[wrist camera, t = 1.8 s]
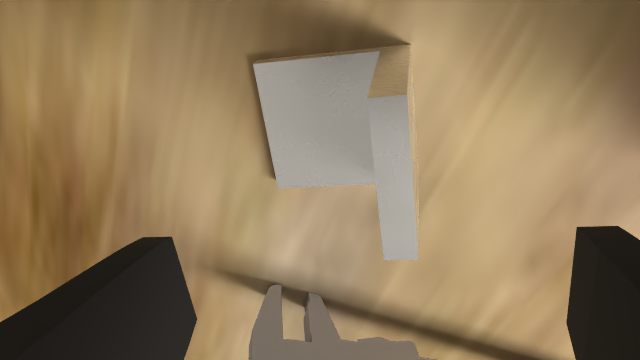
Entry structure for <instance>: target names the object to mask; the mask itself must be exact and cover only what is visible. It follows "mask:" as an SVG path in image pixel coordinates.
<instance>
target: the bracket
mask: <svg viewBox="0 0 640 360" xmlns="http://www.w3.org/2000/svg"><path fill="white" fill-rule="evenodd" d="M253 67H254V72H255V77H256V82H257V87H258V92H259V97H260V102H261V107H262V112H263V117H264V122H265V127H266V132H267V136H268V141H269V146H270V151H271V156H272V161H273V166H274V171H275V176H276V181H277V186H278V188H295V187H317V186H338V185H360V184H376V190H377V199H378V209H379V218H380V227H381V237H382V246H383V256H384V260H418V250H419V168H418V153H417V137H416V121H415V105H414V90H413V74H412V58H411V44H406V45H397V46H387V47H377V48H368V49H358V50H349V51H339V52H329V53H320V54H310V55H300V56H291V57H281V58H272V59H262V60H257V61H256V62H255V63H254V64H253Z"/></svg>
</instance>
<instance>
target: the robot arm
mask: <svg viewBox="0 0 640 360" xmlns="http://www.w3.org/2000/svg"><path fill="white" fill-rule="evenodd" d="M196 321H197V317H196V314H195V311H194V307H193V304H192V301H191V298H190V294H189V291H188V288H187V285H186V281H185V278H184V275H183V272H182V268H181V265H180V262H179V259H178V255H177V252H176V249H175V246H174V242H173V239H172V237H143V238H141V239H139V240H137V241H135V242H133V243H131V244H129V245H127V246H125V247H124V248H122V249H120V250H118V251H117V252H115V253H113V254H112V255H110V256H108V257H107V258H105V259H103V260H102V261H100V262H98V263H97V264H95V265H94V266H92V267H90V268H89V269H87V270H86V271H84V272H82V273H81V274H79V275H78V276H76V277H74V278H73V279H71V280H70V281H68V282H66V283H65V284H63V285H62V286H60V287H58V288H57V289H55V290H54V291H52V292H50V293H49V294H47V295H46V296H44V297H42V298H41V299H39V300H38V301H36V302H34V303H32V304H31V305H29V306H27V307H26V308H24V309H22V310H21V311H19V312H17V313H15V314H14V315H12V316H10V317H9V318H7V319H5V320H3V321H2V322H0V360H184V357H185V355H186V352H187V349H188V346H189V343H190V340H191V337H192V334H193V330H194V327H195V324H196ZM567 327H568V331H569V335H570V339H571V342H572V346H573V350H574V354H575V358H576V360H640V240H639V239H637V238H636V237H634V236H633V235H631V234H630V233H628V232H627V231H625V230H623V229H622V228H620V227H619V226H598V227H577V231H576V240H575V249H574V258H573V268H572V277H571V286H570V296H569V305H568V314H567Z"/></svg>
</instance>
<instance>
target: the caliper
mask: <svg viewBox="0 0 640 360" xmlns="http://www.w3.org/2000/svg"><path fill="white" fill-rule="evenodd" d="M304 332H305V341H299V340H288V339H283V324H282V302H281V285H273V286H270V287H269V289H268V291H267V294H266V296H265V298H264V301H263V303H262V306H261V309H260V311H259V314H258V317H257V319H256V322H255V324H254V327H253V330H252V335H251V339H250V344H249V360H436V359H429V358H422V357H419V355H418V352H417V349H416V345H415V344H414V343H413V342H410V341H399V342H394V341H389V340H387V339H384V338H380V337H376V338H367V339H358V341H357V342H354V341H347V340H341V339H340V337H339V334H338V332H337V330H336V328H335V326H334V324H333V322H332V320H331V318H330V315H329V313H328V311H327V309H326V307H325V305H324V303H323V301H322V299H321V296H320V295H318V294H314V293H311V292H309V293H308V297H307V301H306V305H305V316H304Z"/></svg>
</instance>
